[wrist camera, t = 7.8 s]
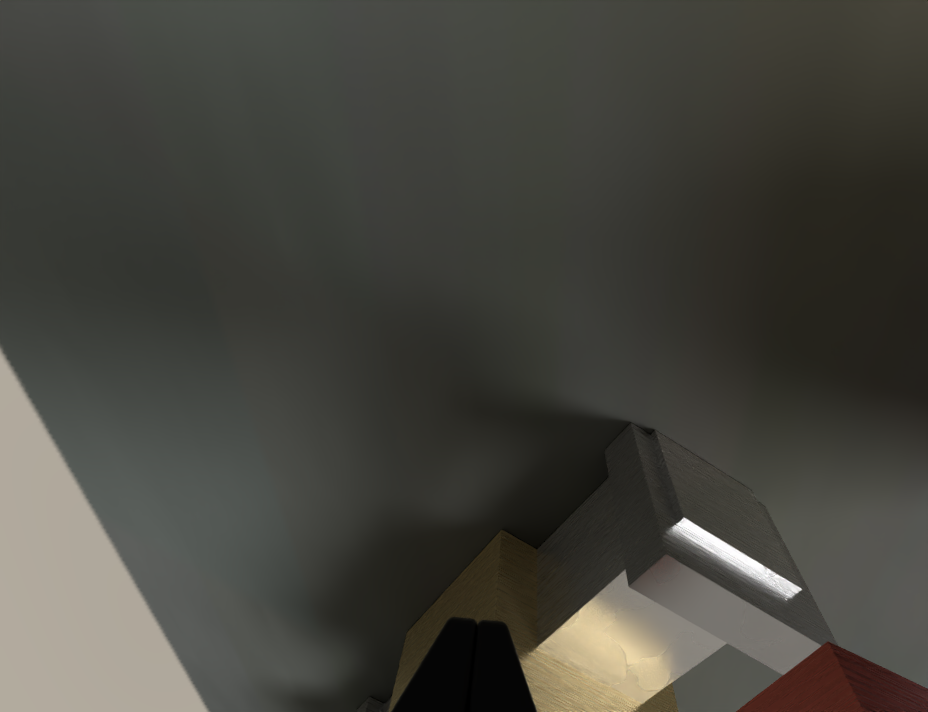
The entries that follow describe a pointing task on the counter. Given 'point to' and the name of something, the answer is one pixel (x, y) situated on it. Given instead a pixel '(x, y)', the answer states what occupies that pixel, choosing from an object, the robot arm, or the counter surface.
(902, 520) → the counter surface
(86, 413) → the counter surface
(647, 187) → the counter surface
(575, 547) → the valve
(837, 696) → the lever
